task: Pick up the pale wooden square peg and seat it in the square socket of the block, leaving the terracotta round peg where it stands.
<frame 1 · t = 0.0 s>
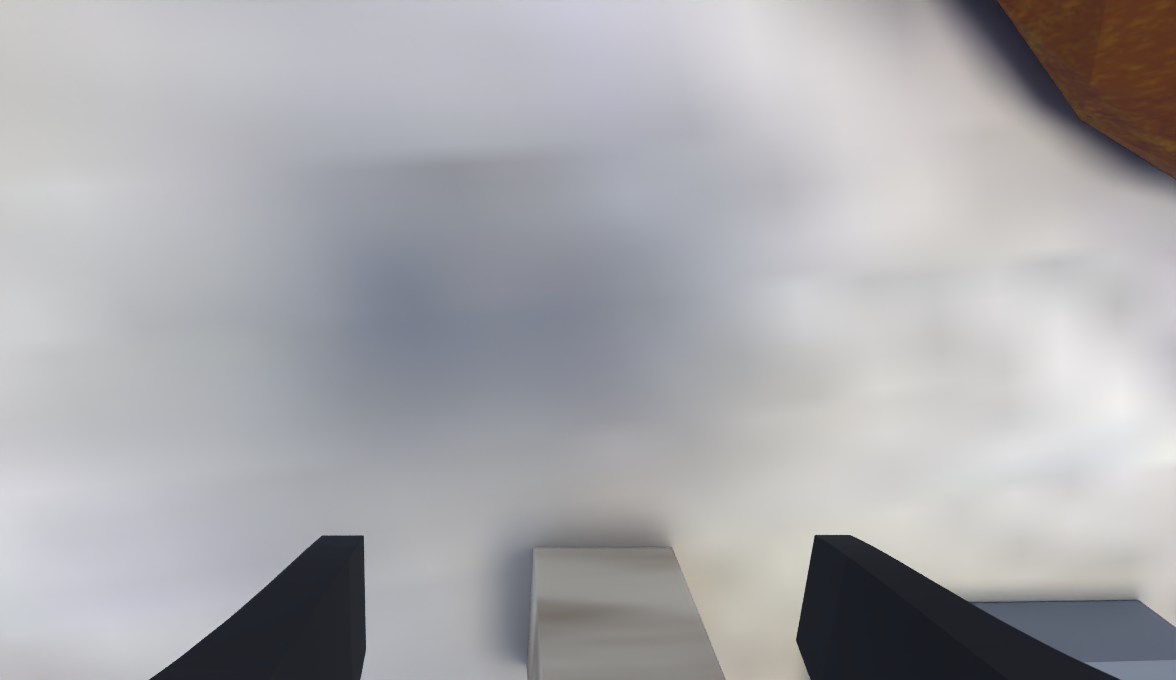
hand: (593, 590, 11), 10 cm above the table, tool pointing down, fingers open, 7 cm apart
square peg: (598, 606, 23), on the table
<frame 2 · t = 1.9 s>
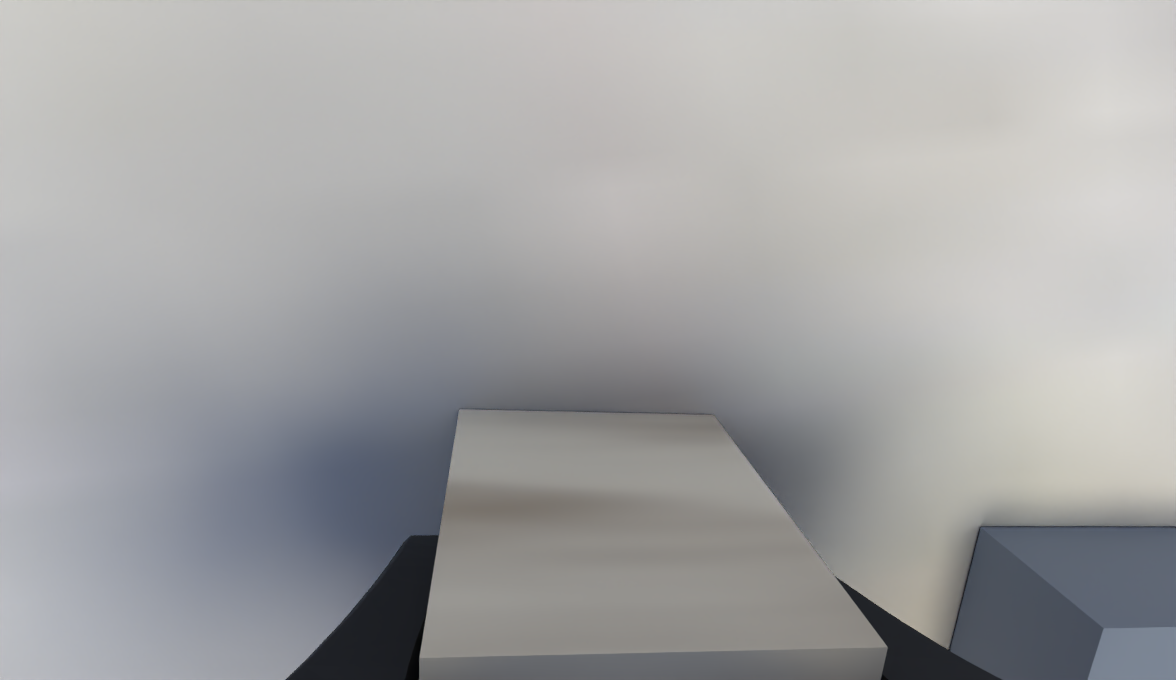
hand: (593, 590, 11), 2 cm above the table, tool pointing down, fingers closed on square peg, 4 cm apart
square peg: (580, 525, 13), on the table, touching gripper
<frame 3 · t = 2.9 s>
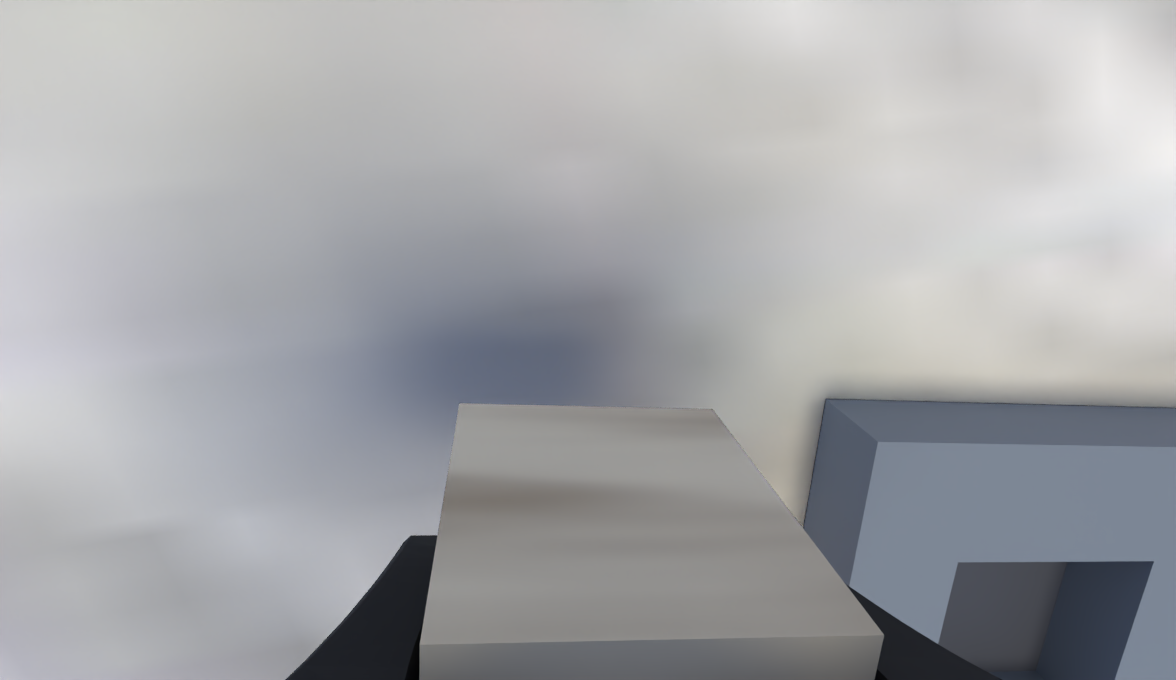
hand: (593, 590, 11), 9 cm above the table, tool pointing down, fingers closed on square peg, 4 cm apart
socket block: (966, 588, 23), on the table
square peg: (580, 519, 13), point 7 cm above the table, touching gripper
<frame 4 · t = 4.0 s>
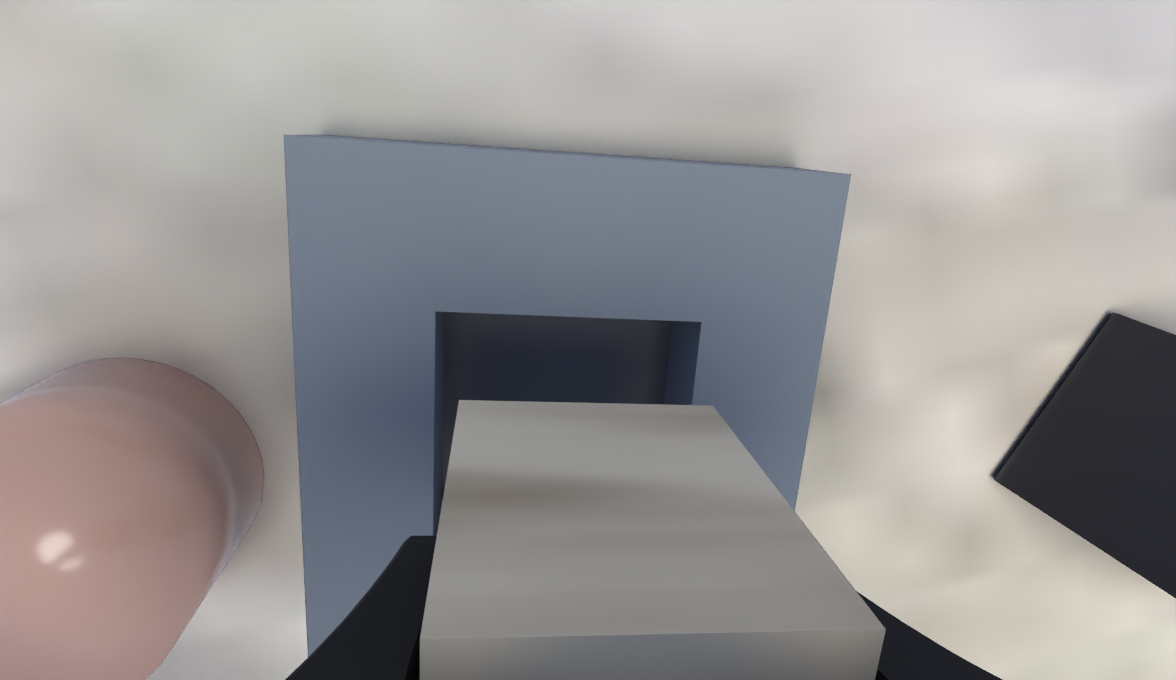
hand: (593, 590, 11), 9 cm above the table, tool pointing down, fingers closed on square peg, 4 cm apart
socket block: (554, 395, 19), on the table
round peg: (138, 471, 19), on the table
square peg: (580, 516, 13), point 7 cm above the table, touching gripper
phone stand: (1142, 450, 23), on the table
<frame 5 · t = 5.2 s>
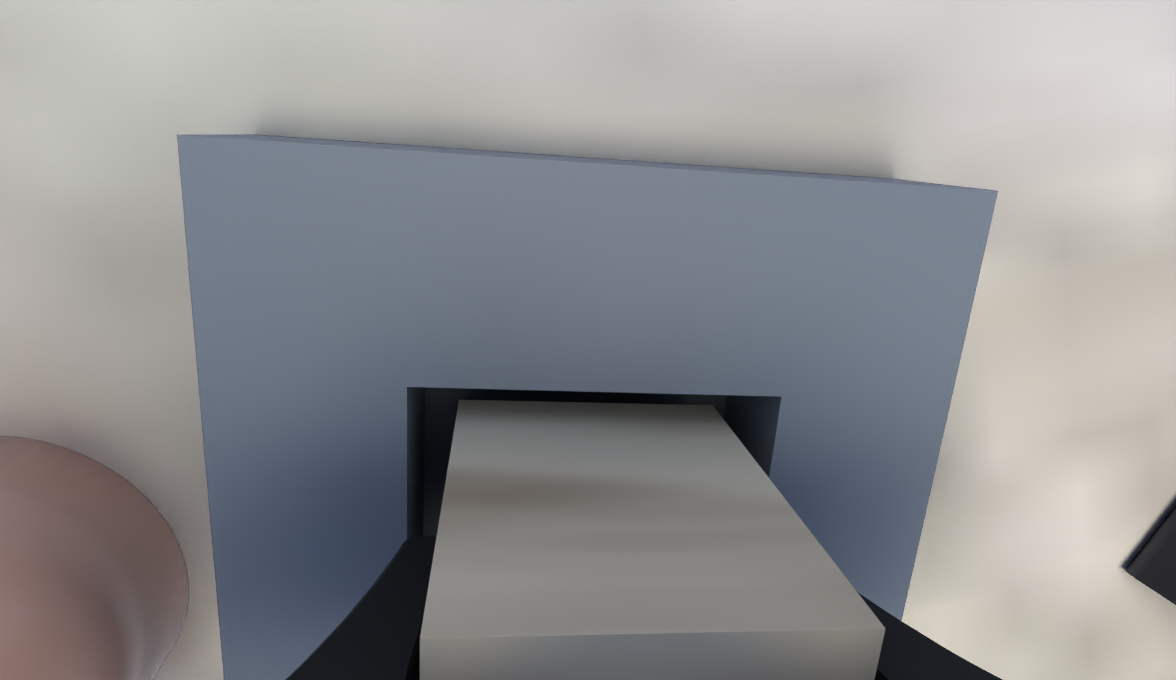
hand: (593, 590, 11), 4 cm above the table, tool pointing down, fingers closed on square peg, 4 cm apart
socket block: (571, 475, 15), on the table
round peg: (20, 580, 14), on the table
square peg: (580, 516, 13), point 2 cm above the table, touching gripper
when the fingers open (4 cm above the table, at t = 6.0 s): square peg drops 1 cm, resting on socket block.
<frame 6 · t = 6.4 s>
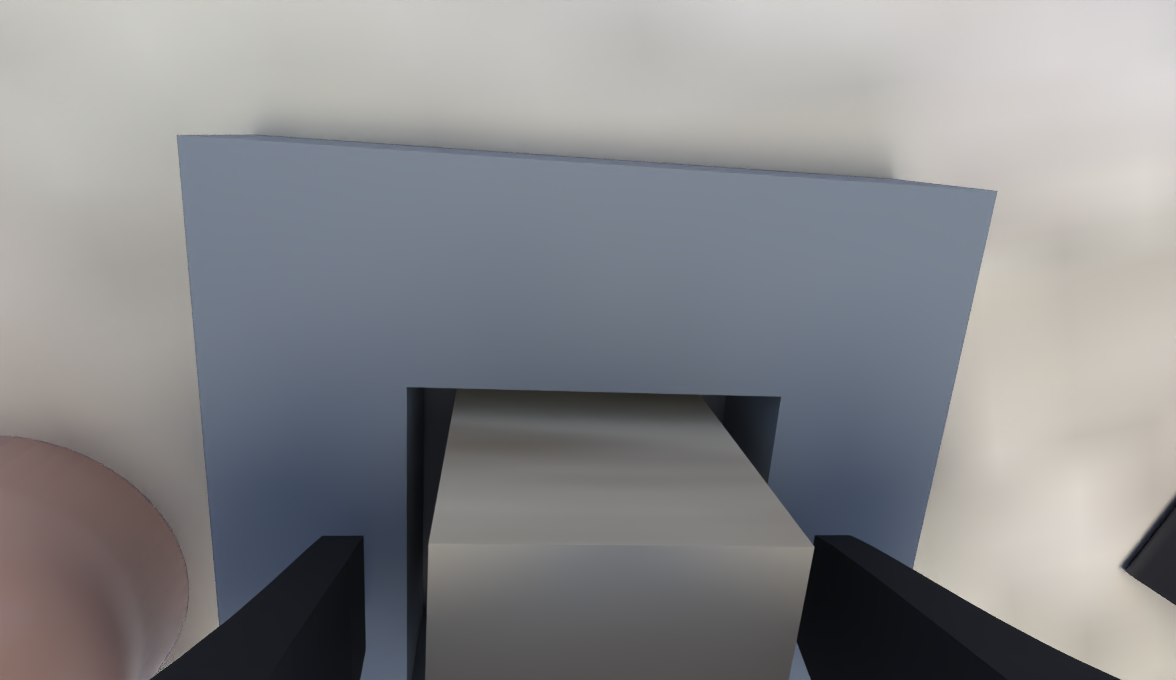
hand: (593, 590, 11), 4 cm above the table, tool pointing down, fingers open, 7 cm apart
socket block: (571, 475, 15), on the table
round peg: (20, 580, 14), on the table
square peg: (568, 478, 14), resting on socket block
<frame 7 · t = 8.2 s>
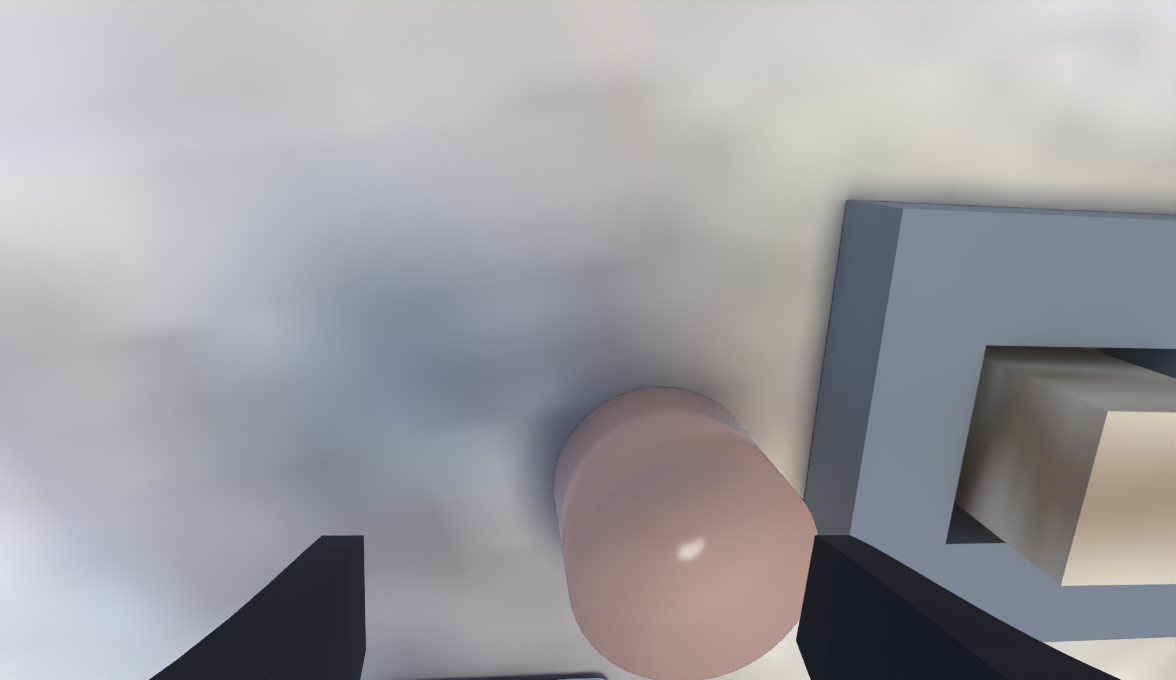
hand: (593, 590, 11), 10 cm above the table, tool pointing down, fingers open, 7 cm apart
socket block: (992, 410, 23), on the table
round peg: (654, 481, 22), on the table
square peg: (998, 410, 22), resting on socket block
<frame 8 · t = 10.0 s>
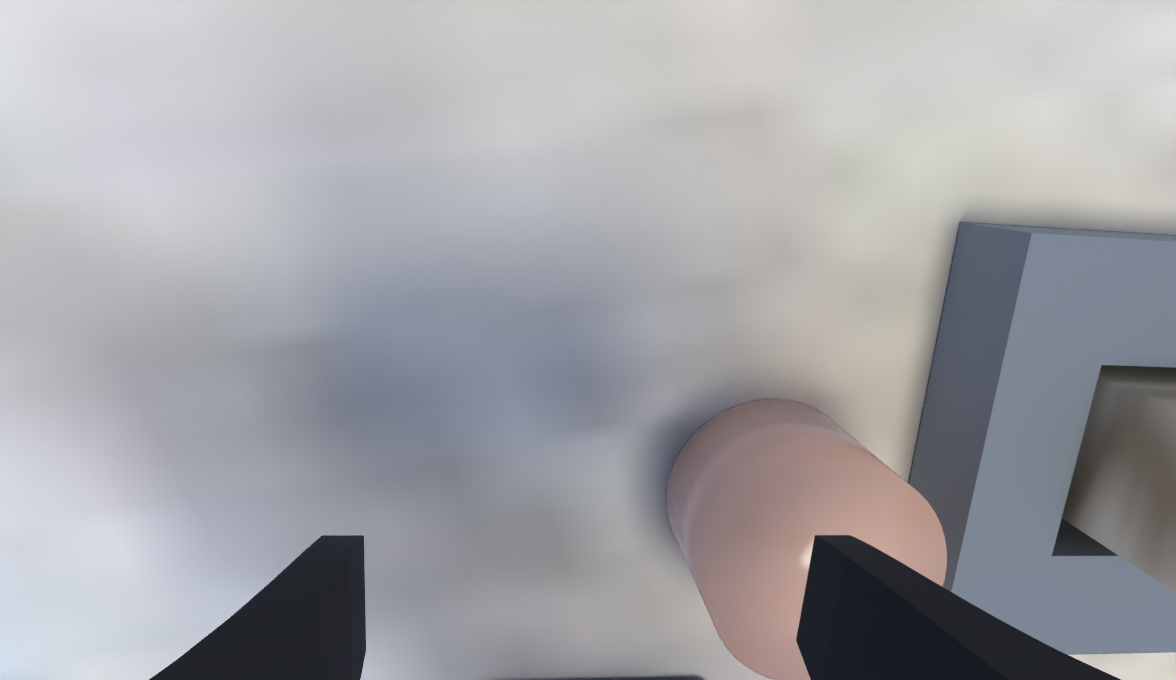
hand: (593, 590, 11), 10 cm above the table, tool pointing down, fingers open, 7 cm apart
socket block: (1086, 427, 24), on the table
round peg: (761, 490, 23), on the table
square peg: (1094, 427, 23), resting on socket block
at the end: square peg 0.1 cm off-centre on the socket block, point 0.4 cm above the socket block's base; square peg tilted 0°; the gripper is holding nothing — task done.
